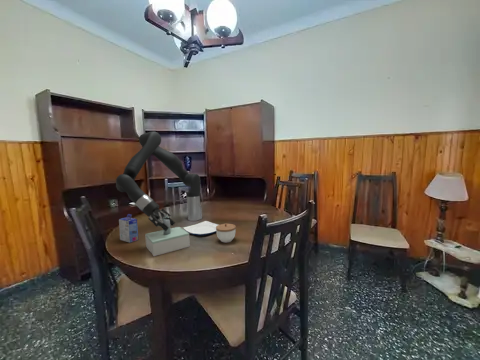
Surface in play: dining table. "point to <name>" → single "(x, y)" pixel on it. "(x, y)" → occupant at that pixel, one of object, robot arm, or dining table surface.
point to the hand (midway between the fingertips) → (170, 226)
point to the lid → (166, 233)
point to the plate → (201, 228)
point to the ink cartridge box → (128, 229)
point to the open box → (167, 245)
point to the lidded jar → (226, 232)
